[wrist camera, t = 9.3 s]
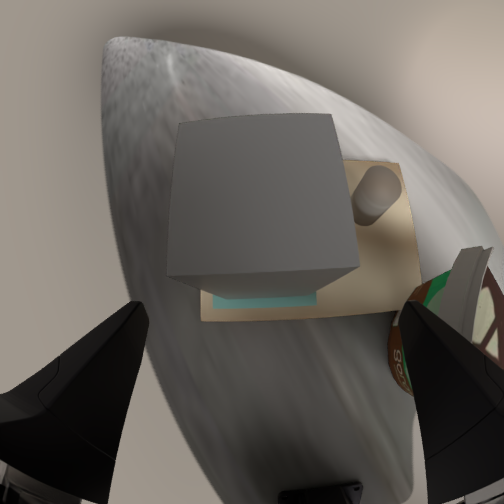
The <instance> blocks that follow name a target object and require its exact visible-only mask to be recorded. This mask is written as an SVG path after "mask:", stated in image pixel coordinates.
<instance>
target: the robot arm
mask: <svg viewBox="0 0 504 504" xmlns="http://www.w3.org/2000/svg"><path fill="white" fill-rule="evenodd" d="M398 325H399V330H400V335H401V341H402V346H403V352H404V358H405V362H406V367H407V370H408V374H409V378H410V382H411V387H412V391H413V395H414V400H415V404H416V409H417V414H418V420H419V425H420V431H421V437H422V444H423V450H424V459H425V469H426V479H427V492H428V504H442V503H446V502H449V501H451V500H455V499H457V498H460V497H463V496H464V500H462V501H461V502H459V503H457V504H504V370H503V369H502V368H500V367H499V366H498V365H497V364H496V363H494V362H493V361H492V360H491V359H490V358H489V357H487V356H486V355H484V353H483V352H482V351H480V350H479V349H478V348H477V347H476V346H474V345H473V344H472V343H471V342H470V341H468V340H467V339H466V338H465V337H463V336H462V335H461V334H460V333H459V332H457V331H456V330H455V329H454V328H452V327H451V326H450V325H449V324H447V323H446V322H445V321H443V320H442V319H441V318H440V317H438V316H437V315H436V314H434V313H433V312H432V311H431V310H429V309H428V308H427V307H425V306H424V305H423V304H421V303H420V302H419V301H417V300H408V301H406V302H405V303H404V306H403V308H402V311H401V313H400V316H399V319H398ZM148 327H149V318H148V315H147V313H146V310H145V307H144V305H143V303H142V302H140V301H130V302H129V303H127V304H126V305H125V306H123V307H122V308H121V309H119V310H118V311H117V312H115V313H114V314H113V315H111V316H110V317H109V318H107V319H106V320H105V321H103V322H102V323H101V324H99V325H98V326H97V327H95V328H94V329H93V330H91V331H90V332H89V333H88V334H86V335H85V336H84V337H82V338H81V339H80V340H78V341H77V342H76V343H75V344H73V345H72V346H71V347H69V348H68V349H67V350H66V351H64V352H63V353H62V354H61V355H60V356H58V357H57V358H55V359H54V360H53V361H52V362H50V363H49V364H48V365H46V366H45V367H44V368H42V369H41V370H40V371H38V372H37V373H35V374H34V375H32V376H31V377H30V378H28V379H27V380H25V381H24V382H22V383H21V384H19V385H18V386H16V387H15V388H13V389H12V390H10V391H8V392H6V393H3V394H0V504H81V502H82V499H84V500H87V501H90V502H93V503H97V504H108V499H109V493H110V487H111V482H112V476H113V472H114V467H115V460H116V456H117V451H118V447H119V443H120V438H121V434H122V430H123V426H124V422H125V418H126V414H127V410H128V407H129V403H130V399H131V396H132V392H133V389H134V385H135V382H136V378H137V375H138V372H139V368H140V365H141V361H142V357H143V352H144V347H145V342H146V337H147V332H148ZM355 487H357V488H355ZM362 490H363V485H362V484H361V482H354V483H349V484H344V485H338V486H332V487H325V488H317V489H308V490H297V491H284V492H281V493H279V495H278V504H359V503H360V499H361V494H362ZM283 496H287V497H285V498H284V497H283Z"/></svg>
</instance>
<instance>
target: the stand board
mask: <svg viewBox="0 0 504 504" xmlns="http://www.w3.org/2000/svg"><path fill="white" fill-rule="evenodd" d="M343 163H344V168H345V173H346V178H347V183H348V188H349V193H350V199H351V205H352V210H353V217H354V223H355V230H356V237H357V244H358V252H359V261H360V267H358V268H357V269H355V270H353V271H351V272H350V273H348V274H346V275H344V276H343V277H341V278H339V279H337V280H336V281H334V282H332V283H330V284H328V285H327V286H325V287H323V288H321V289H319V290H317V291H316V292H314V293H312V294H310V295H308V296H295V297H277V298H256V299H228V300H226V299H224V298H221V297H218V296H216V295H213V294H210V293H208V292H205V291H203V290H201V321H272V320H294V319H312V318H326V317H338V316H350V315H360V314H370V313H379V312H387V311H395V310H402V308H403V306H404V303H405V302H406V300H407V298H408V297H409V296H410V294H411V293H412V292H413V290H414V289H415V287H417V286H420V285H422V281H421V272H420V263H419V256H418V249H417V242H416V236H415V230H414V225H413V220H412V215H411V210H410V205H409V201H408V197H407V192H406V188H405V184H404V181H403V177H402V173H401V170H400V166H399V163H389V162H374V161H353V160H343Z"/></svg>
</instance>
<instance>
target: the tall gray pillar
mask: <svg viewBox="0 0 504 504" xmlns="http://www.w3.org/2000/svg"><path fill="white" fill-rule="evenodd" d="M358 267H360V261H359V252H358V244H357V237H356V230H355V223H354V217H353V210H352V205H351V199H350V193H349V188H348V183H347V178H346V173H345V168H344V163H343V159H342V155H341V150H340V146H339V142H338V138H337V134H336V130H335V126H334V122H333V119H332V115H331V114H317V113H287V114H260V115H245V116H233V117H223V118H214V119H206V120H198V121H191V122H185V123H179V126H178V133H177V140H176V148H175V156H174V165H173V174H172V184H171V195H170V207H169V222H168V240H167V268H166V276H168V277H170V278H173V279H175V280H178V281H180V282H183V283H185V284H187V285H190V286H193V287H195V288H198V289H200V290H203V291H205V292H208V293H210V294H213V295H216V296H218V297H221V298H224V299H226V300H228V299H256V298H277V297H295V296H308V295H310V294H312V293H314V292H316V291H317V290H319V289H321V288H323V287H325V286H327V285H328V284H330V283H332V282H334V281H336V280H337V279H339V278H341V277H343V276H344V275H346V274H348V273H350V272H351V271H353V270H355V269H357V268H358Z"/></svg>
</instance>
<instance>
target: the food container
mask: <svg viewBox="0 0 504 504" xmlns="http://www.w3.org/2000/svg"><path fill="white" fill-rule="evenodd" d="M493 250H494V247H491V248H488V249H485V250H484V249H483V247H482V246H479V247H472V248H465V249H461V251H460V253H459V255H458V257H457V258H456V260H455V262H454V264H453V267H452V269H451V270H449V271H447V272H445V273H443V274H441V275H439V276H437V277H435V278H434V279H432V280H430V281H428V282H426V283H424V284H422V285H420V286H417V287H415V289H414V290H413V292H412V293H411V294H410V296H409V297H408V298H407V300H406V301H408V300H417V301H419V302H420V303H421V304H423V305H424V306H425V307H427V308H428V309H429V310H431V311H432V312H433V313H434V314H436V315H437V316H438V317H440V318H441V319H442V320H443V321H445V322H446V323H447V324H449V325H450V326H451V327H452V328H454V329H455V330H456V331H457V332H459V333H460V334H461V335H462V336H463V337H465V338H466V339H467V340H468V341H470V342H471V343H472V344H473V345H474V346H476V347H477V348H478V349H479V350H480V351H482V352H483V353H484V355H486V356H487V357H489V358H490V359H491V360H492V361H493V362H494V363H496V364H497V365H498V366H499V367H500V368H502V369H503V370H504V295H503V293H502V291H501V289H500V287H499V285H498V284H497V282H496V280H495V278H494V276H493V275H492V273H491V271H490V269H489V267H488V266H487V265H488V262H489V259H490V257H491V255H492V252H493ZM401 311H402V310H397V311H396V314H395V316H394V318H393V320H392V323H391V328H390V334H389V339H388V359H389V366H390V369H391V372H392V375H393V377H394V379H395V381H396V382H397V384H398V385H399V386H400V387H401V388H402V389H403V390H404V391H406V392H407V393H409V394H410V395H412V396H413V397H414V395H413V391H412V387H411V382H410V378H409V374H408V370H407V367H406V362H405V358H404V352H403V346H402V341H401V335H400V330H399V325H398V319H399V316H400V313H401Z"/></svg>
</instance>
